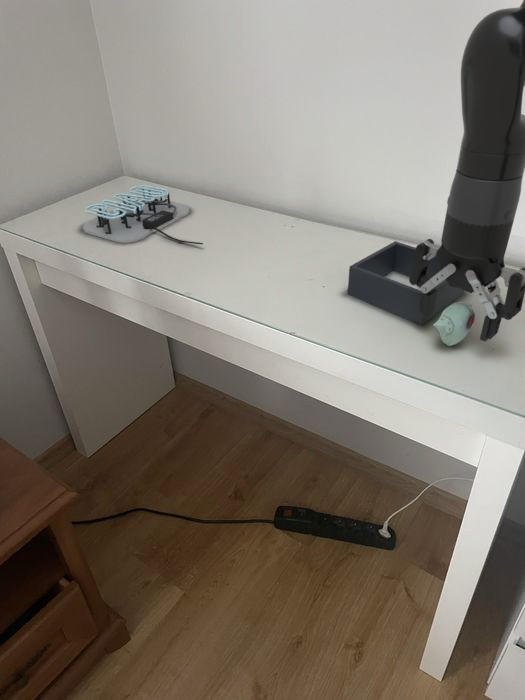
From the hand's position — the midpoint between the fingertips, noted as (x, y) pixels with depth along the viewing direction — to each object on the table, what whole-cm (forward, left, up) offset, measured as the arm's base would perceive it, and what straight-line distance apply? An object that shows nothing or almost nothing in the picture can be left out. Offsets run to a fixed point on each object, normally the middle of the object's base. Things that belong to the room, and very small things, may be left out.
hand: (455, 326), depth 71 cm
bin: (+13, -8, -3) cm, 15 cm away
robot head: (0, 0, -3) cm, 3 cm away
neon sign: (+65, +1, -3) cm, 65 cm away
